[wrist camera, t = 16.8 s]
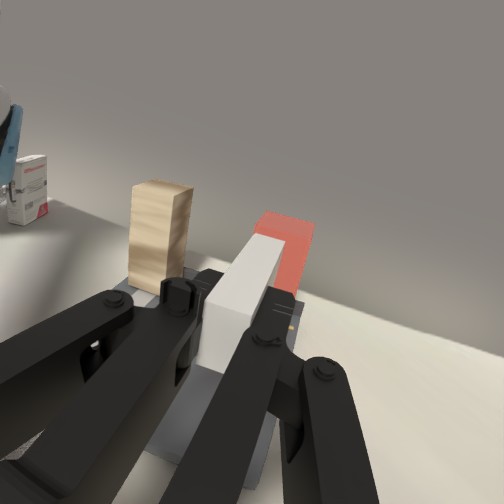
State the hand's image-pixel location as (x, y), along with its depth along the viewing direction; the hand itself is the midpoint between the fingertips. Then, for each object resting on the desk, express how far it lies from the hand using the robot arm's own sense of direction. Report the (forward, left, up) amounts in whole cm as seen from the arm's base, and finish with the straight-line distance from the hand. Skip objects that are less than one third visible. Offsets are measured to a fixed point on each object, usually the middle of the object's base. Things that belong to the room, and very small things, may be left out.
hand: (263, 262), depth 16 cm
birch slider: (-22, +2, -14) cm, 26 cm away
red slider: (-11, +10, -14) cm, 21 cm away
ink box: (-53, -18, -17) cm, 58 cm away
